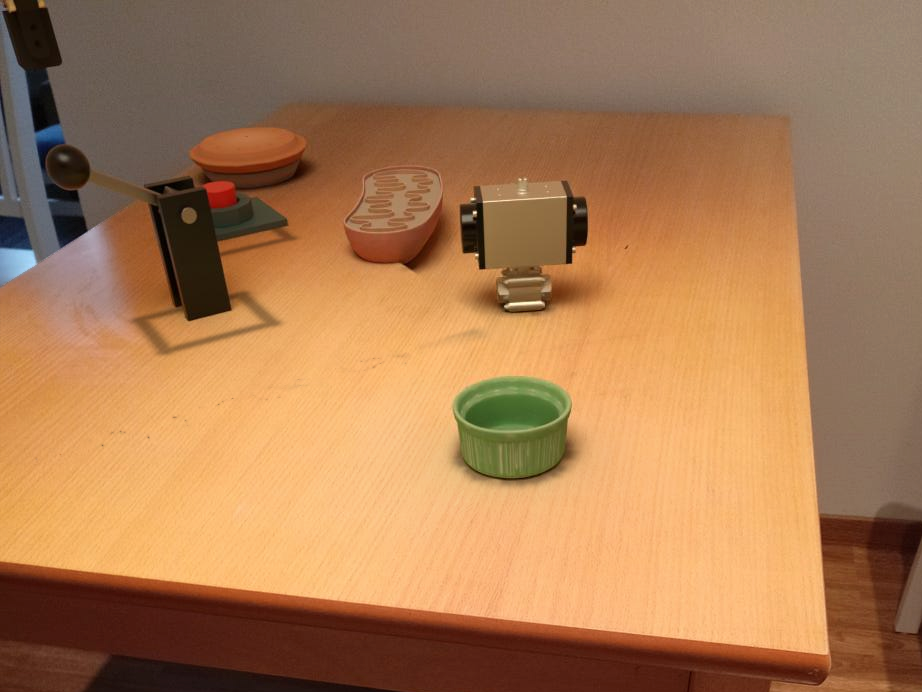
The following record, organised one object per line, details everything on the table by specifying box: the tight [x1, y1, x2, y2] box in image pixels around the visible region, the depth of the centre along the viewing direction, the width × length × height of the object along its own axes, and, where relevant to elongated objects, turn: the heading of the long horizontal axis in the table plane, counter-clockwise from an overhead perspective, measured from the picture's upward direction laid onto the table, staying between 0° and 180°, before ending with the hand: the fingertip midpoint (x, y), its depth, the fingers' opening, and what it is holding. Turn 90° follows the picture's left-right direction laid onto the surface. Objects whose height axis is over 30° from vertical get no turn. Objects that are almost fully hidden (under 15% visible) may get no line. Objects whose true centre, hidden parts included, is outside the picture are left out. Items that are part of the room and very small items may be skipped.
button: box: [200, 181, 238, 209], centre depth 116 cm, size 4×4×2 cm
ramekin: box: [452, 375, 573, 479], centre depth 78 cm, size 9×9×4 cm
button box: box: [211, 191, 289, 242], centre depth 118 cm, size 12×10×4 cm
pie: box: [188, 126, 308, 190], centre depth 135 cm, size 15×16×5 cm
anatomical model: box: [342, 164, 444, 265], centre depth 114 cm, size 23×10×5 cm, turn 177°
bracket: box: [143, 175, 233, 322], centre depth 97 cm, size 11×9×13 cm
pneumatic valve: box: [459, 176, 589, 313], centre depth 97 cm, size 6×12×12 cm, turn 93°
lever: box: [45, 143, 178, 213], centre depth 90 cm, size 13×4×4 cm, turn 120°
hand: (41, 66), depth 82 cm, fingers closed
